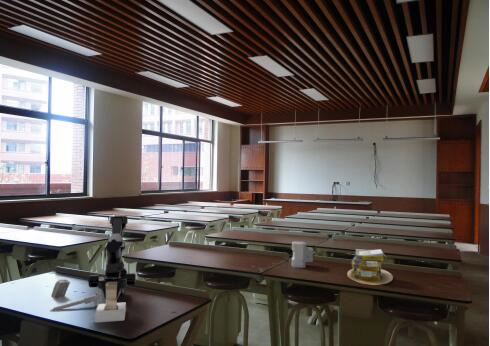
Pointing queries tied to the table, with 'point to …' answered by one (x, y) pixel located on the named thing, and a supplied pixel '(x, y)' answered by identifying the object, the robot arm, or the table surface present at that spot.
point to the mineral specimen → (60, 288)
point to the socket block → (110, 313)
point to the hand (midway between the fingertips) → (111, 299)
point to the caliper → (80, 302)
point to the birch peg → (111, 296)
